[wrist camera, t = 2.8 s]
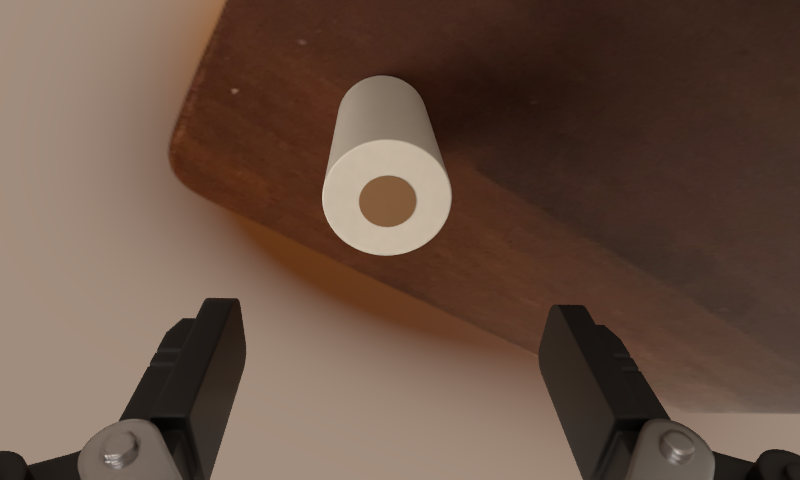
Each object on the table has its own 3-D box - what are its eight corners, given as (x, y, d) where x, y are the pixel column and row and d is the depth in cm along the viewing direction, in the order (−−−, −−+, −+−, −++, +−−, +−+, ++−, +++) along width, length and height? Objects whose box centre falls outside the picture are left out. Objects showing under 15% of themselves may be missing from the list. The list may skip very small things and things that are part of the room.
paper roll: (337, 72, 26) (320, 137, 17) (430, 77, 26) (459, 142, 18) (338, 161, 28) (323, 255, 20) (423, 164, 29) (445, 258, 20)
